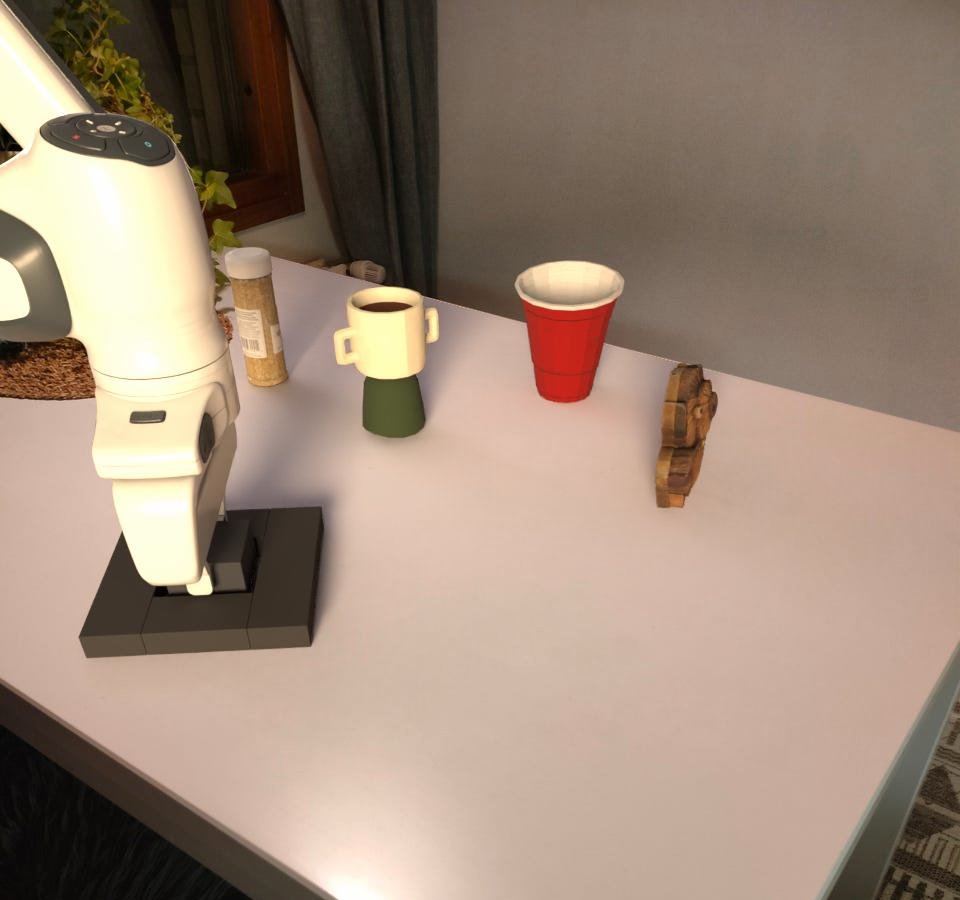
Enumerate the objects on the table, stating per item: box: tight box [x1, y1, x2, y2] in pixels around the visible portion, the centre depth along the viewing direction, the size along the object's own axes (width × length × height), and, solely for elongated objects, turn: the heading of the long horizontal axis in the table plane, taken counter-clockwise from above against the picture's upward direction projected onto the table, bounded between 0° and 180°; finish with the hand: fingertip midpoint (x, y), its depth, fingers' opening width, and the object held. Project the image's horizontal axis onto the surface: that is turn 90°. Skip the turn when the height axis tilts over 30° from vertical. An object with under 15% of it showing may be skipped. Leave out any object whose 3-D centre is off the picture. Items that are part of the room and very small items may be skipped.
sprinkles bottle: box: [224, 246, 289, 387], centre depth 96 cm, size 5×5×14 cm
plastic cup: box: [514, 259, 626, 404], centre depth 94 cm, size 11×11×12 cm
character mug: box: [333, 286, 440, 439], centre depth 87 cm, size 11×7×13 cm, turn 123°
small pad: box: [167, 520, 258, 597], centre depth 70 cm, size 6×6×4 cm
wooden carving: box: [654, 362, 719, 509], centre depth 81 cm, size 16×5×10 cm, turn 167°
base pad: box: [78, 505, 325, 659], centre depth 71 cm, size 16×16×2 cm
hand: (210, 561), depth 70 cm, fingers closed on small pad, 6 cm apart
